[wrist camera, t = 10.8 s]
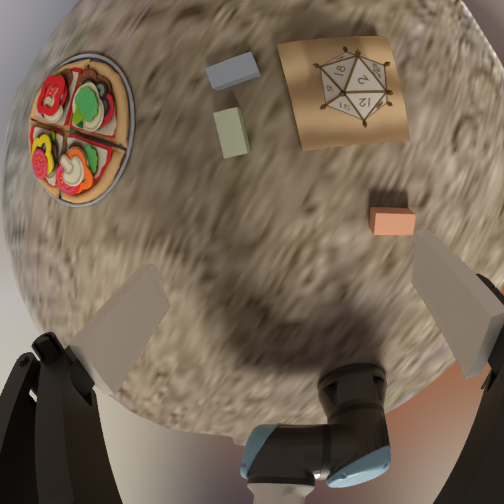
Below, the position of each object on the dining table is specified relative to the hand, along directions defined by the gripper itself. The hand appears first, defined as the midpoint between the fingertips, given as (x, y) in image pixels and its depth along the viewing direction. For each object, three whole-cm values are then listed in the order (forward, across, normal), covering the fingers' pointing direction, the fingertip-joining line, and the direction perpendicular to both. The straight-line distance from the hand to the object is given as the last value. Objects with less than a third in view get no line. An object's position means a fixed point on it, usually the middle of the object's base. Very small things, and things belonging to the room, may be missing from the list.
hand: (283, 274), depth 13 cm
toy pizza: (+25, +33, -17) cm, 45 cm away
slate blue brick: (+25, +4, -16) cm, 30 cm away
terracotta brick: (+25, -14, +7) cm, 29 cm away
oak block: (+24, -9, -11) cm, 28 cm away
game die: (+22, -9, -11) cm, 26 cm away
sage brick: (+25, +6, -8) cm, 27 cm away
